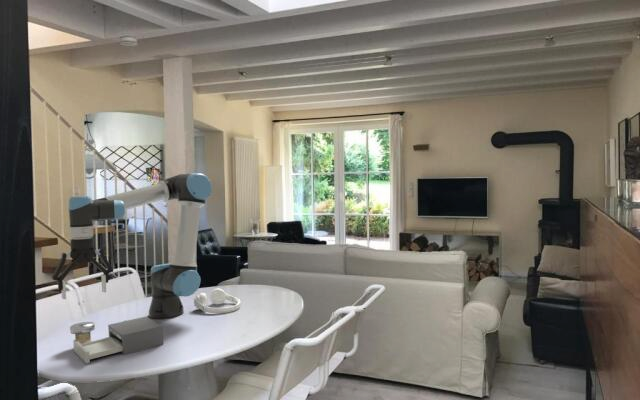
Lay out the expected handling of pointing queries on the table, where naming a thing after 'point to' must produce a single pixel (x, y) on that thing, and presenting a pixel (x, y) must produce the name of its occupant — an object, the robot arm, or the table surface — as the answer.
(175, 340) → the table surface
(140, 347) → the housing
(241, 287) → the table surface
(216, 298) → the headphones
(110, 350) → the tray
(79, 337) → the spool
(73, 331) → the disc
